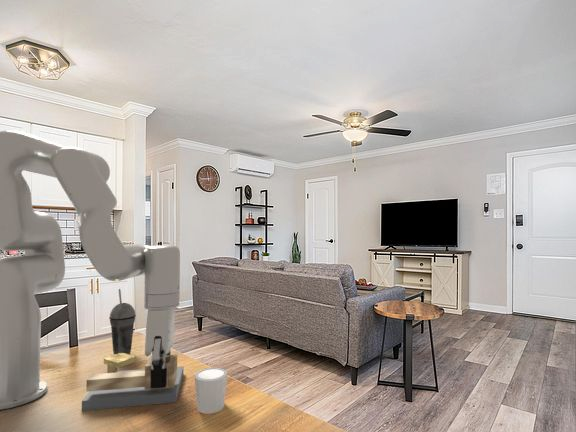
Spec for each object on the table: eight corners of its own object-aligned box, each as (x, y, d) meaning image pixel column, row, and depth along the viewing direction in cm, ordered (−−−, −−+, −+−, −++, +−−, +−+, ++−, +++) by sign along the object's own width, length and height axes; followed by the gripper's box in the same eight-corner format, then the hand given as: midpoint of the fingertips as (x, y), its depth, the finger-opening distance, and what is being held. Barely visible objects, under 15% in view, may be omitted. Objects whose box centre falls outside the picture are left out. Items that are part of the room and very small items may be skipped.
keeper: (99, 384, 85) (100, 357, 86) (117, 376, 89) (118, 351, 90) (117, 390, 82) (118, 362, 82) (135, 382, 86) (135, 356, 86)
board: (81, 410, 73) (81, 401, 73) (104, 380, 88) (105, 372, 88) (176, 401, 76) (176, 392, 77) (183, 374, 91) (183, 366, 91)
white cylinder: (219, 417, 70) (219, 381, 71) (188, 413, 72) (188, 378, 72) (231, 400, 77) (231, 368, 77) (202, 397, 78) (203, 366, 79)
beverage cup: (140, 354, 106) (141, 287, 106) (117, 361, 100) (118, 291, 100) (126, 349, 110) (127, 285, 110) (103, 356, 104) (104, 289, 104)
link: (83, 394, 73) (84, 370, 73) (93, 382, 78) (94, 359, 79) (173, 387, 76) (174, 364, 76) (177, 376, 82) (177, 354, 82)
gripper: (152, 293, 87) (151, 367, 86) (135, 309, 70) (134, 400, 69) (183, 292, 88) (182, 364, 88) (174, 307, 71) (173, 397, 71)
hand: (161, 379), depth 78 cm, fingers closed on link, 5 cm apart
